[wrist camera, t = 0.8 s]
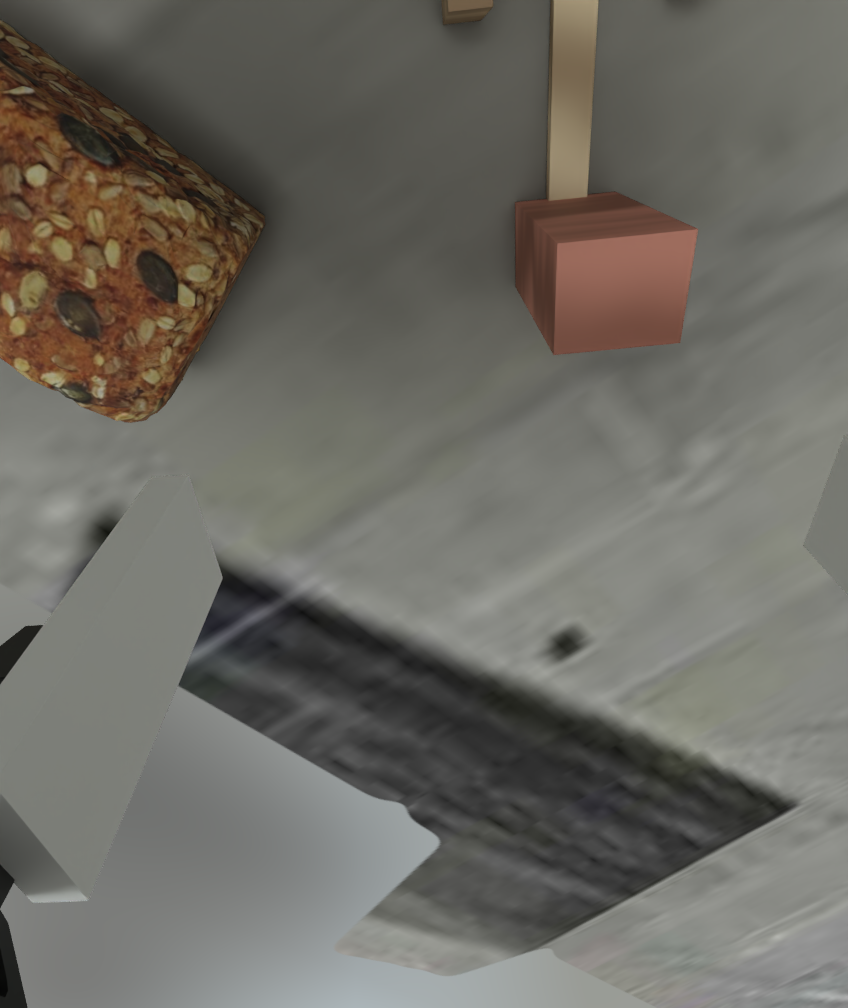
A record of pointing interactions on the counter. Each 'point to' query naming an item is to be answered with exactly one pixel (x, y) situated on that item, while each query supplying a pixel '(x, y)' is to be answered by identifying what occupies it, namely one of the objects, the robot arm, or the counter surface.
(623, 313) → the tethered block
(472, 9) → the frame
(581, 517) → the counter surface
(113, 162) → the bread
